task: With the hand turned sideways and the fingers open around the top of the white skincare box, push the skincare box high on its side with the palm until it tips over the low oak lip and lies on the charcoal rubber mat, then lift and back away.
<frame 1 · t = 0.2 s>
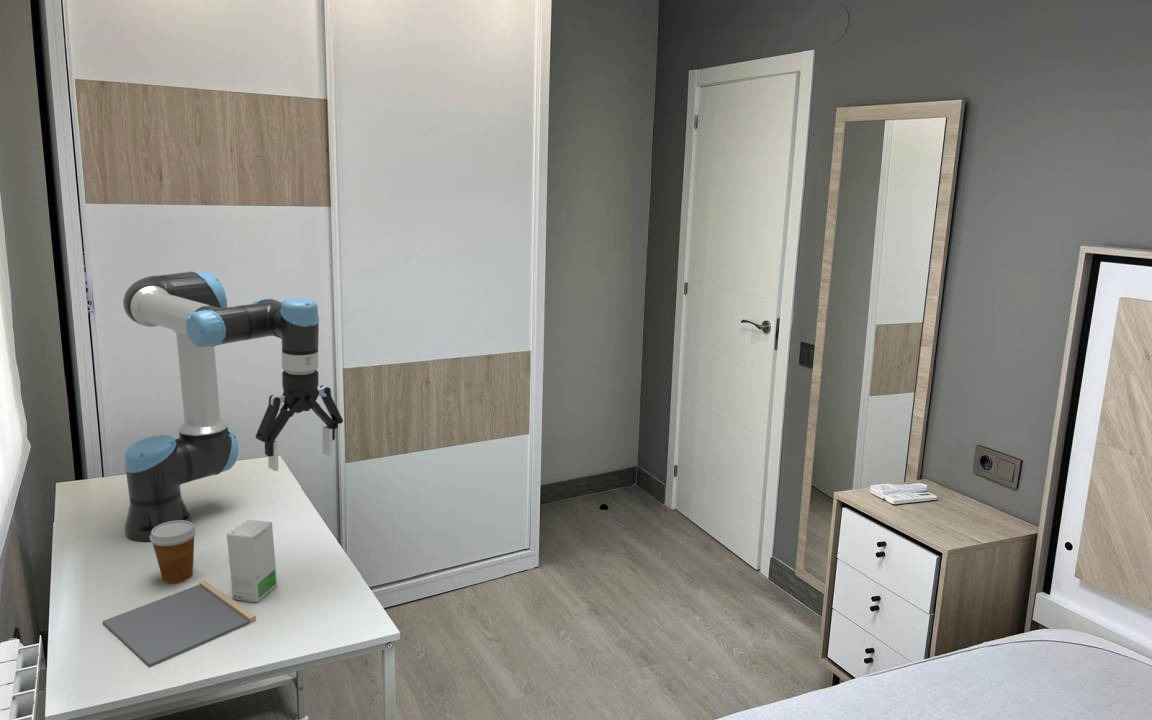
hand: (301, 461, 187), 28 cm above the table, tool pointing down, fingers open, 13 cm apart
skincare box: (254, 592, 185), on the table
disposable coffee cup: (177, 577, 191), on the table
rubber mat: (176, 623, 172), on the table
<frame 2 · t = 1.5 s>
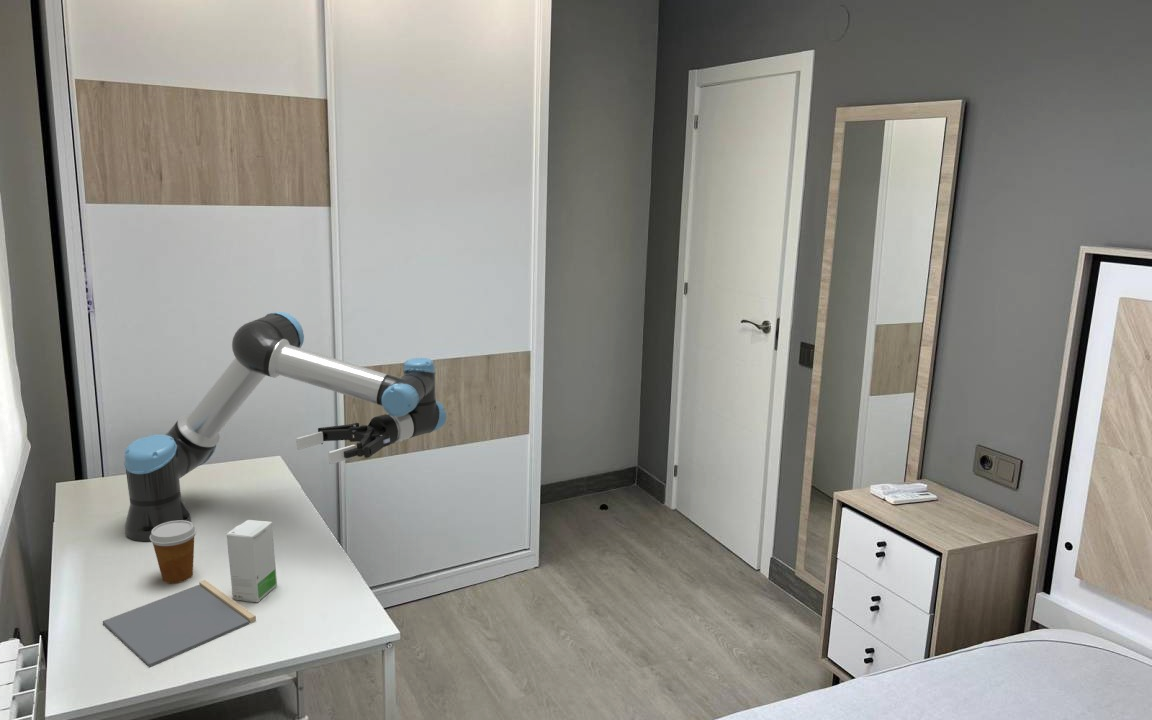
hand: (313, 451, 190), 29 cm above the table, tool horizontal, fingers open, 13 cm apart
nothing on the table moved.
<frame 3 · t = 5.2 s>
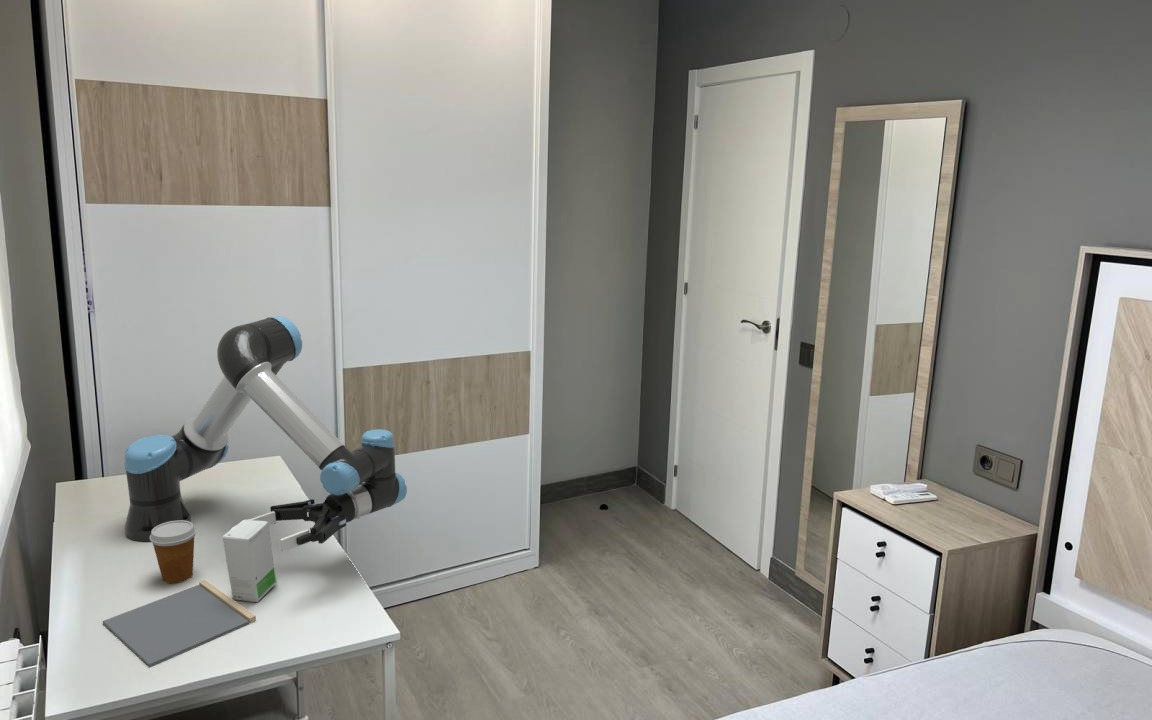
hand: (263, 535, 181), 14 cm above the table, tool horizontal, fingers open, 13 cm apart
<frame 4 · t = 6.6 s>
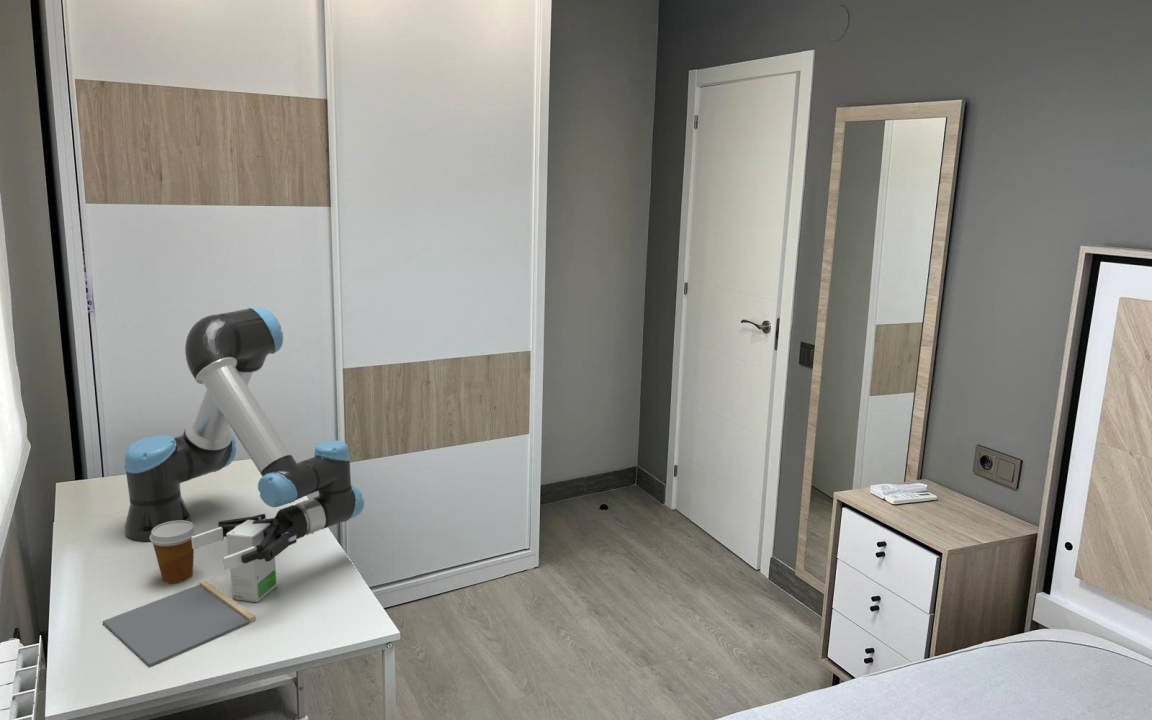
hand: (208, 553, 173), 14 cm above the table, tool horizontal, fingers open, 13 cm apart
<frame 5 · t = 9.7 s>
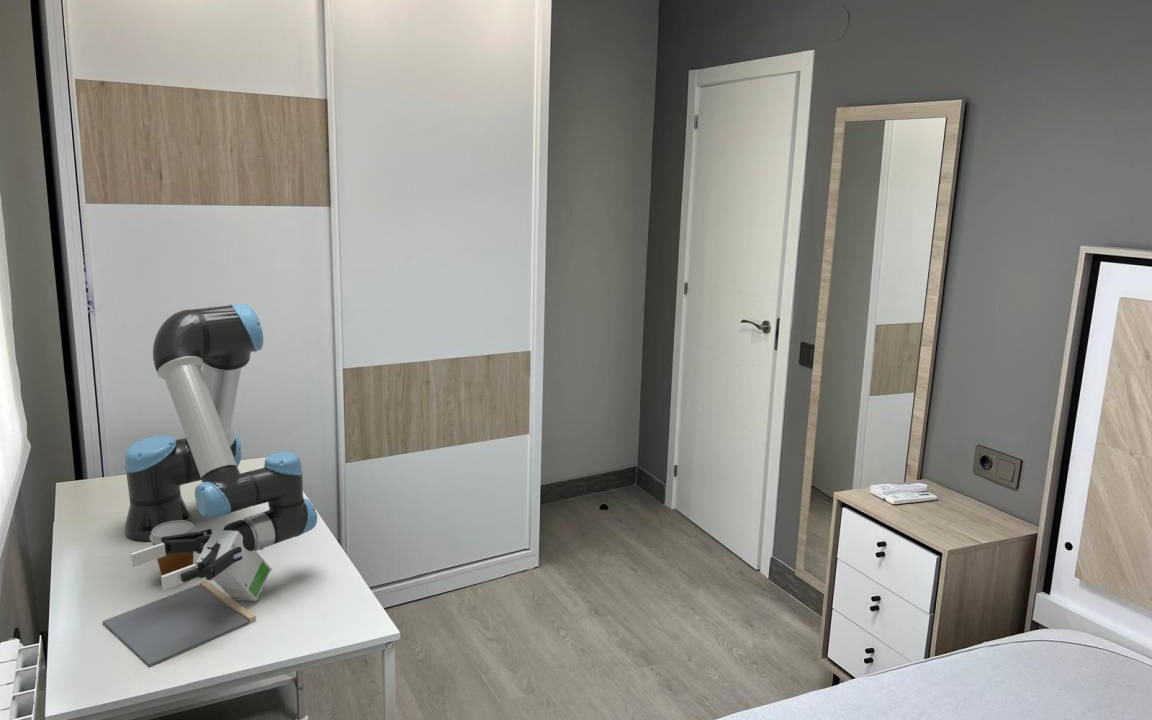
hand: (146, 571, 165), 14 cm above the table, tool horizontal, fingers open, 13 cm apart
skincare box: (252, 583, 184), point 2 cm above the table, touching hand
everything else where it was.
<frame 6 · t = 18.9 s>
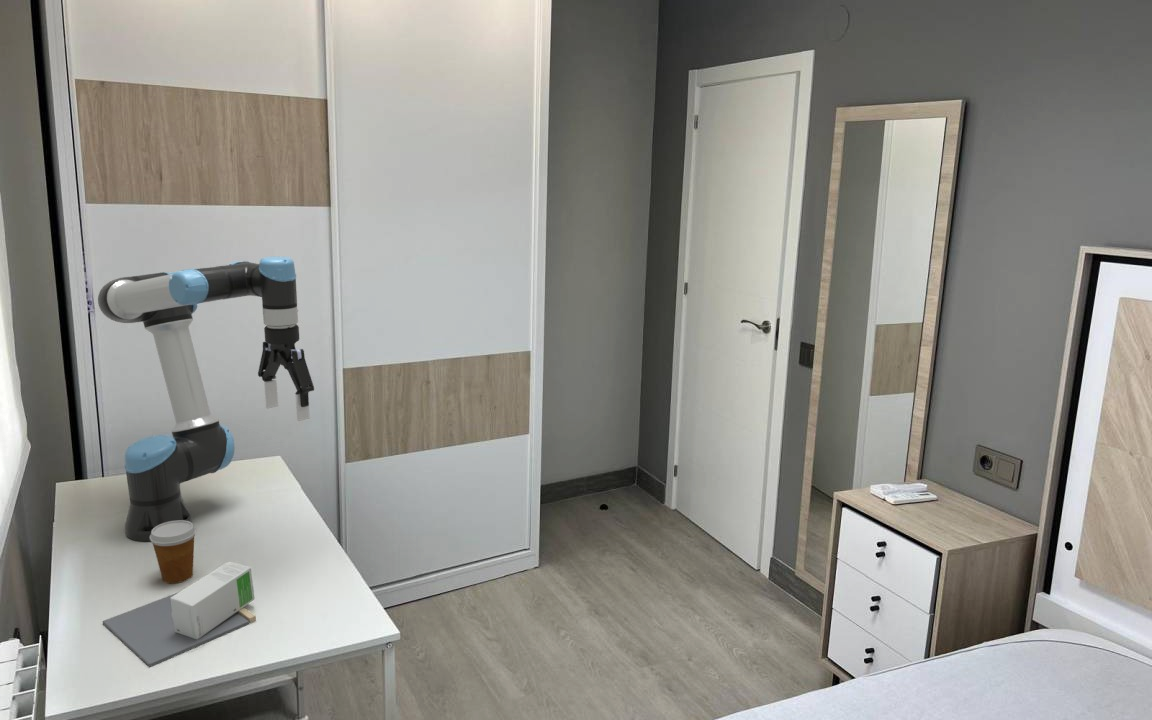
hand: (287, 413, 197), 35 cm above the table, tool pointing down, fingers open, 13 cm apart
skincare box: (242, 578, 179), point 6 cm above the table, touching rubber mat
everything else where it was.
at the end: skincare box tilted 95°; skincare box touching rubber mat; skincare box inside the target area (7.8 cm from its centre), point 5.7 cm above the table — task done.
